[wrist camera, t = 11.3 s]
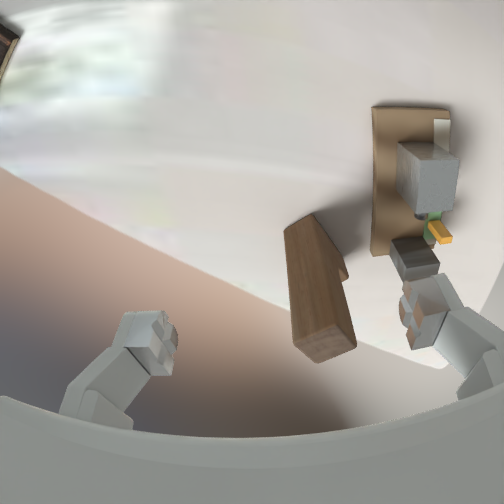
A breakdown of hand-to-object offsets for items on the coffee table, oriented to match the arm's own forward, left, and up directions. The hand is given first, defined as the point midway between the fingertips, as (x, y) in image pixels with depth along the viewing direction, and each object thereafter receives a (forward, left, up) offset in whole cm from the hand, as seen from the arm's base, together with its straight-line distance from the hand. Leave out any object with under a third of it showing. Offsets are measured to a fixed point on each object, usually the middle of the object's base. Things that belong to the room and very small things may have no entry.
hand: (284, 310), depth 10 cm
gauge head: (+7, +18, -25) cm, 31 cm away
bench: (+9, +17, -26) cm, 32 cm away
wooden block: (+17, +4, -27) cm, 31 cm away
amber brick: (+14, +21, -24) cm, 35 cm away
